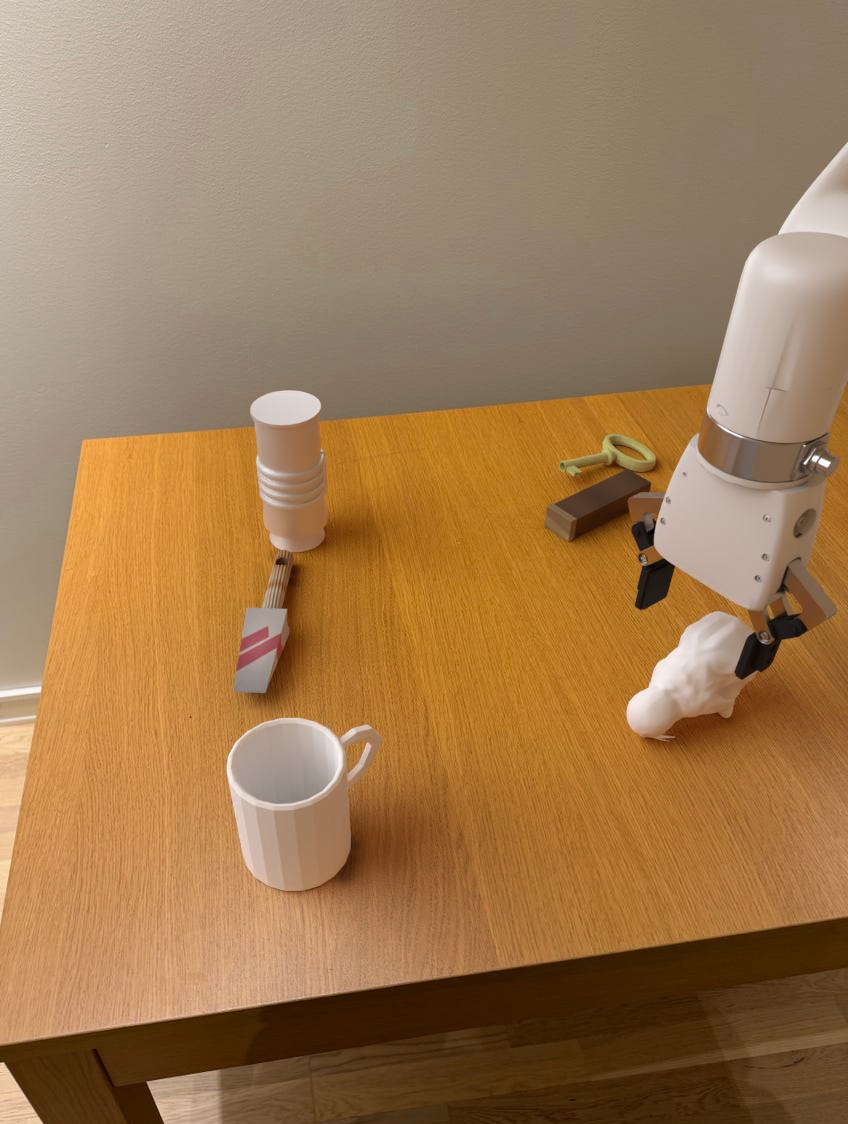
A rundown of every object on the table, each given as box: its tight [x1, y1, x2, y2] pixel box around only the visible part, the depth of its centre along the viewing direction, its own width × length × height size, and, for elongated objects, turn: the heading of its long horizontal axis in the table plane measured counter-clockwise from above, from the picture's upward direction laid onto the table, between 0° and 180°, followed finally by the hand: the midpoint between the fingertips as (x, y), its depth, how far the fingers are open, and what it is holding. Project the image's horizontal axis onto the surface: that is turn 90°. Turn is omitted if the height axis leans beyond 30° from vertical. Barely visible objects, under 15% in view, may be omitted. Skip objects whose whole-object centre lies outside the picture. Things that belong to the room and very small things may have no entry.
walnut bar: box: [544, 468, 652, 543], centre depth 98 cm, size 12×4×3 cm, turn 126°
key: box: [558, 433, 657, 478], centre depth 105 cm, size 7×12×2 cm, turn 135°
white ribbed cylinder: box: [249, 389, 329, 553], centre depth 92 cm, size 7×7×15 cm
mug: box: [225, 717, 384, 892], centre depth 66 cm, size 8×12×10 cm
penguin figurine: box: [625, 610, 759, 742], centre depth 75 cm, size 6×8×12 cm
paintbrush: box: [232, 550, 295, 694], centre depth 86 cm, size 4×3×20 cm
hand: (698, 634), depth 71 cm, fingers open, 9 cm apart
